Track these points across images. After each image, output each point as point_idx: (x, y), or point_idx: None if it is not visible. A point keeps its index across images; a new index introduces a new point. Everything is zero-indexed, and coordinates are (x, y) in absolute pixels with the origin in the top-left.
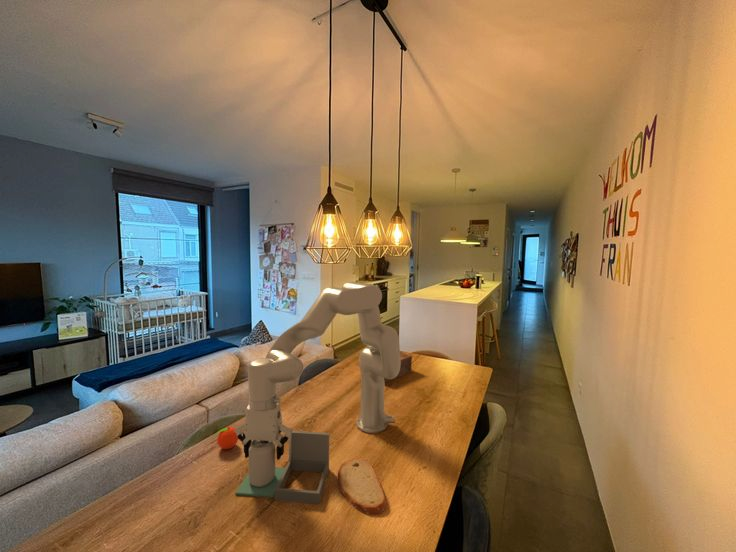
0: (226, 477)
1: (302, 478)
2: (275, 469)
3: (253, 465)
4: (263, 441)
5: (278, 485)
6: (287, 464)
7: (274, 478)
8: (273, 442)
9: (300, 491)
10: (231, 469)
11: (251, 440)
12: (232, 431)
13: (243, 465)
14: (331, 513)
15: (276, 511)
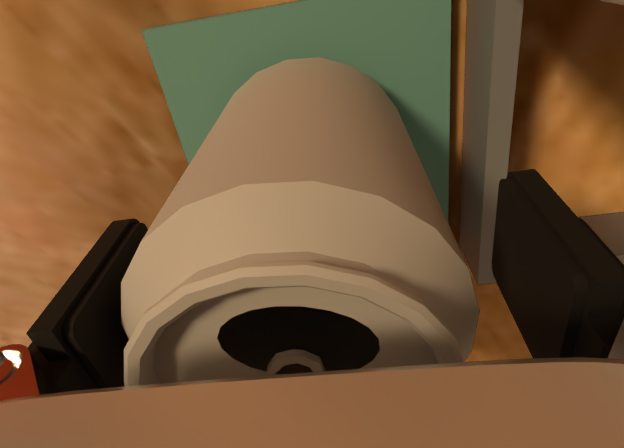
0: (62, 168)
1: (613, 36)
2: (358, 23)
3: (292, 336)
4: (293, 356)
5: (490, 251)
6: (498, 31)
7: None
8: (441, 279)
9: None
10: (17, 95)
11: (75, 328)
12: None
13: (57, 28)
14: None
15: (492, 291)
